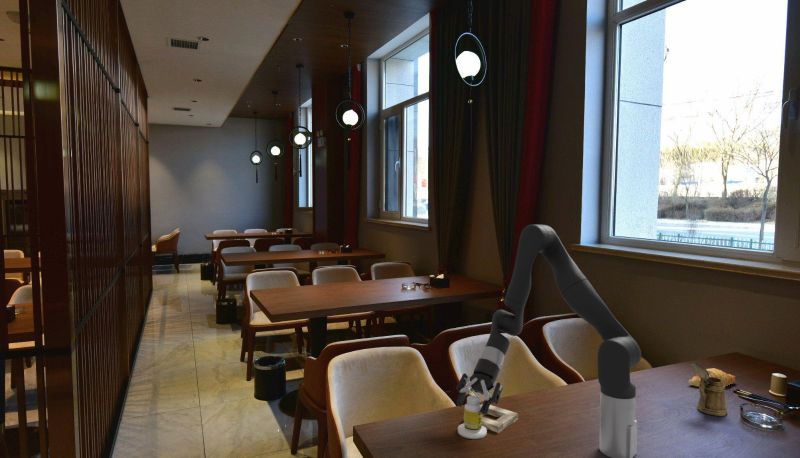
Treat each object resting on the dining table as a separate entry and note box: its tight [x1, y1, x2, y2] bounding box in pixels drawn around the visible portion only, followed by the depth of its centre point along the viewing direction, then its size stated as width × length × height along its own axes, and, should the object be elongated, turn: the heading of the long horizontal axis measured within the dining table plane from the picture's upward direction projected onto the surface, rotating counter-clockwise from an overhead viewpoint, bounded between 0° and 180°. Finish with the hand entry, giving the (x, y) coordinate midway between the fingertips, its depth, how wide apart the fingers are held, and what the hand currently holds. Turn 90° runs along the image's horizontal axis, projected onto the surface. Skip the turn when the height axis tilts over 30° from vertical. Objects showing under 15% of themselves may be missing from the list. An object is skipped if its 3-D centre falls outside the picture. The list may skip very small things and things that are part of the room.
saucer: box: [457, 422, 488, 440], centre depth 151 cm, size 9×9×1 cm
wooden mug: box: [690, 362, 728, 417], centre depth 167 cm, size 9×14×18 cm, turn 110°
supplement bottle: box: [463, 395, 482, 432], centre depth 151 cm, size 5×5×10 cm
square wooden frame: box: [480, 403, 519, 434], centre depth 160 cm, size 13×13×2 cm
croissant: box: [688, 367, 737, 388], centre depth 193 cm, size 21×10×8 cm, turn 101°
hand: (470, 409), depth 150 cm, fingers open, 8 cm apart
